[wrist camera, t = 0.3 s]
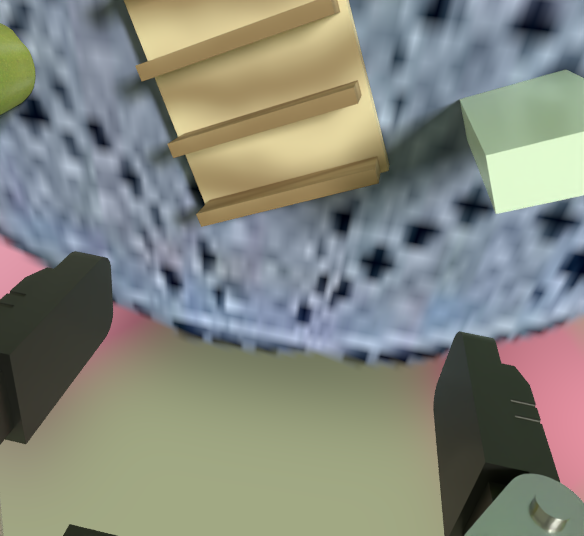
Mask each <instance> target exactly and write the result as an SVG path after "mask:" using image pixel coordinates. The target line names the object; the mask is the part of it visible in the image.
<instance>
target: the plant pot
mask: <svg viewBox="0 0 584 536" xmlns="http://www.w3.org/2000/svg"><path fill="white" fill-rule="evenodd" d="M34 83H35V67H34V63H33V59H32V57H31V54H30V52H29V50H28V49H27V47H26V46H25V45H24V44H23V43H22V42H21V41H20V40H19V38H18V37H17V36H16V35H15V33H14V32H13V31H12V30H11V29H10V28H8V27H7V26H5V25H3V24H1V23H0V115H1V114H3V113H5V112H6V111H8V110H10V109H12V108H14V107H15V106H17V105H19V104H21V103H22V102H23V101H24V100H25V99H26V98H27V97H28V96H29V95H30V93H31V92H32V90H33V87H34Z"/></svg>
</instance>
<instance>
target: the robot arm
mask: <svg viewBox="0 0 584 536" xmlns="http://www.w3.org/2000/svg"><path fill="white" fill-rule="evenodd" d="M112 318H113V301H112V280H111V265H110V261H109V260H108V258H105V257H101V256H96V255H91V254H86V253H81V252H76V251H75V252H72V253H71V254H69V255H68V256H67V257H66V258H65V259H64V260H63V261H62V262H61V263H60V264H59V265H58V266H57V267H55V268H54V269H52V268H45V269H43V270H41V271H38V272H36V273H34V274H32V275H30V276H27V277H25V278H24V279H23V280H22V281H21V282H20V283H19V284H17V285H16V286H15V287H14V288H13V289H12V290H11V291H10V294H6V295H5V296H4V297H3V298H2V299H0V444H1V443H2V442H3V441H4V439H6V440H10V441H15V442H19V443H23V444H26V443H27V442H28V441H29V440H30V438H31V437H32V435H33V434H34V433H35V431H36V430H37V429H38V427H39V426H40V425H41V423H42V422H43V421H44V419H45V418H46V416H47V415H48V414H49V413H50V411H51V410H52V409H53V407H54V406H55V405H56V403H57V402H58V401H59V399H60V398H61V396H62V395H63V394H64V393H65V391H66V390H67V389H68V387H69V386H70V384H71V383H72V382H73V381H74V379H75V378H76V377H77V375H78V374H79V373H80V371H81V370H82V368H83V367H84V366H85V365H86V363H87V362H88V360H89V359H90V358H91V356H92V355H93V354H94V352H95V351H96V350H97V348H98V347H99V346H100V344H101V343H102V342H103V340H104V339H105V337H106V336H107V334H108V332H109V329H110V326H111V323H112ZM434 420H435V432H436V443H437V455H438V465H439V466H438V467H439V478H440V488H441V489H440V490H441V501H442V512H443V524H444V535H445V536H584V503H583V502H582V501H581V500H580V498H579V497H578V496H577V495H576V494H575V493H574V492H572V491H571V490H570V489H569V488H567V487H566V486H564V485H563V484H561V483H560V480H559V477H558V474H557V470H556V467H555V464H554V461H553V458H552V454H551V452H550V448H549V445H548V442H547V439H546V436H545V432H544V429H543V426H542V424H540V416H539V414H538V410H537V408H535V401H534V397H533V394H532V391H531V388H530V385H529V384H528V382H527V381H526V380H525V379H524V377H523V376H522V375H521V374H520V372H519V371H518V370H517V369H516V367H515V366H511V365H506V364H501V361H500V357H499V353H498V349H497V345H496V342H495V340H494V339H493V338H489V337H484V336H479V335H474V334H470V333H465V332H460V331H459V332H458V333H457V334H456V336H455V338H454V340H453V343H452V345H451V348H450V351H449V353H448V356H447V359H446V361H445V364H444V366H443V369H442V372H441V374H440V377H439V380H438V383H437V386H436V390H435V396H434ZM0 536H3V525H2V514H1V503H0ZM63 536H116V535H112V534H108V533H104V532H100V531H96V530H91V529H87V528H83V527H79V526H75V525H71V524H70V525H69V526H68V528H67V530H66V532H65V533H64V535H63Z"/></svg>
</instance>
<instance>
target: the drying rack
mask: <svg viewBox="0 0 584 536" xmlns="http://www.w3.org/2000/svg"><path fill="white" fill-rule="evenodd" d="M124 2H125V5H126V7H127V10H128V12H129V15H130V17H131V20H132V22H133V25H134V27H135V30H136V32H137V35H138V37H139V40H140V42H141V45H142V47H143V50H144V52H145V55H146V57H147V60H148V61H147V62H145V63H142V64H139V65H136V69H137V71H138V73H139V76H140V78H141V81H145V80H148V79H151V78H154V77H155V80H156V82H157V85H158V87H159V90H160V92H161V95H162V97H163V100H164V102H165V105H166V107H167V110H168V112H169V115H170V117H171V120H172V122H173V125H174V127H175V130H176V132H177V135H178V138H176V139H175V140H173V141H171V142H170V143H168V147H169V149H170V151H171V154H172V156H173V158H175V157H179V156H182V155H186V157H187V160H188V162H189V165H190V167H191V170H192V172H193V175H194V177H195V180H196V182H197V185H198V187H199V190H200V192H201V195H202V197H203V200H204V202H205V205H204V206H203V208H202V209H201V210H200V211H199V212H198V213H197V214H196V215H197V217H198V220H199V222H200V225H201V227H202V226H207V225H211V224H215V223H219V222H223V221H227V220H231V219H235V218H239V217H243V216H247V215H251V214H255V213H260V212H264V211H268V210H272V209H276V208H280V207H284V206H288V205H292V204H296V203H300V202H304V201H309V200H313V199H317V198H321V197H325V196H329V195H333V194H337V193H341V192H345V191H349V190H353V189H358V188H362V187H366V186H370V185H374V184H378V183H379V178H380V173H382V172H386V171H389V161H388V157H387V153H386V149H385V145H384V141H383V137H382V133H381V129H380V125H379V121H378V117H377V113H376V109H375V105H374V101H373V97H372V93H371V89H370V85H369V81H368V77H367V73H366V69H365V65H364V61H363V57H362V53H361V49H360V45H359V41H358V37H357V33H356V29H355V25H354V20H353V16H352V12H351V8H350V4H349V0H124Z"/></svg>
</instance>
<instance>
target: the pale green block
mask: <svg viewBox="0 0 584 536" xmlns="http://www.w3.org/2000/svg"><path fill="white" fill-rule="evenodd" d="M460 104H461V109H462V115H463V120H464V126H465V131H466V136H467V141H468V143H469V146H470V148H471V151H472V154H473V156H474V159H475V161H476V164H477V166H478V169H479V172H480V174H481V177H482V179H483V182H484V184H485V187H486V189H487V192H488V195H489V197H490V200H491V202H492V205H493V207H494V210H495V213H496V214H498V213H502V212H507V211H512V210H516V209H521V208H526V207H531V206H535V205H540V204H545V203H549V202H554V201H559V200H563V199H568V198H573V197H577V196H582V195H584V78H582V77H580V76H578V75H576V74H574V73H572V72H570V71H568V70H562V71H559V72H555V73H552V74H548V75H545V76H541V77H538V78H534V79H530V80H527V81H523V82H520V83H516V84H513V85H509V86H505V87H502V88H498V89H495V90H491V91H488V92H484V93H480V94H477V95H473V96H470V97H466V98H463V99H460Z"/></svg>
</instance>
